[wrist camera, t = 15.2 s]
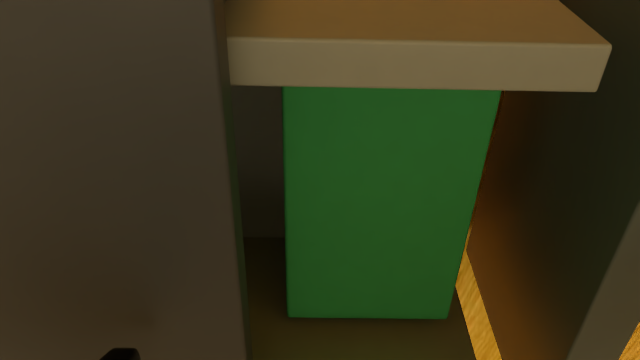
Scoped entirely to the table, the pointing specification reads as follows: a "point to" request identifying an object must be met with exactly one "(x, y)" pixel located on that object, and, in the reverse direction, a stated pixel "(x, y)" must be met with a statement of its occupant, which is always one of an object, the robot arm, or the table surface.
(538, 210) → the drawer
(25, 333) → the cabinet
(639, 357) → the table surface
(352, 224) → the sponge
